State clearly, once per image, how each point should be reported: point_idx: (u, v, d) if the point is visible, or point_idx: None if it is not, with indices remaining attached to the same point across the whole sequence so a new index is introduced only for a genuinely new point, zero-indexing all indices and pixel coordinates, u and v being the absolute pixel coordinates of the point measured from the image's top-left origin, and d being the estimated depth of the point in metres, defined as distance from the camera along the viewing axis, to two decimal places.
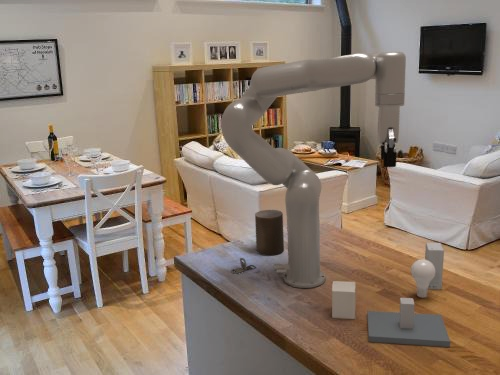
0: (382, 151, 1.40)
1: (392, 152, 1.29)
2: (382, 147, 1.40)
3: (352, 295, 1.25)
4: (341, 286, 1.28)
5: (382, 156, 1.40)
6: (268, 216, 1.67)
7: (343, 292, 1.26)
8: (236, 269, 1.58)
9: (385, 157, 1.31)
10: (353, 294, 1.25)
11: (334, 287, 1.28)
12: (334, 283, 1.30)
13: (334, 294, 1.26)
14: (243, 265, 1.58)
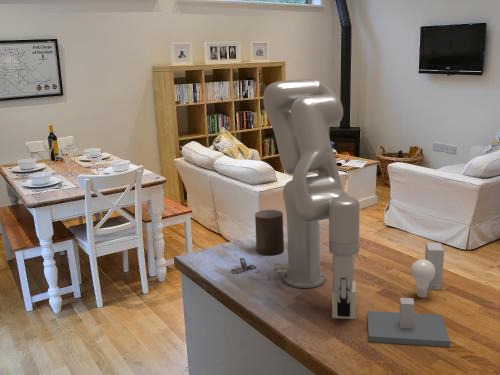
0: None
1: (345, 303, 1.25)
2: None
3: (352, 295, 1.25)
4: None
5: None
6: (268, 216, 1.67)
7: None
8: (236, 269, 1.58)
9: (339, 306, 1.26)
10: (353, 294, 1.25)
11: None
12: None
13: (334, 294, 1.26)
14: (243, 265, 1.58)
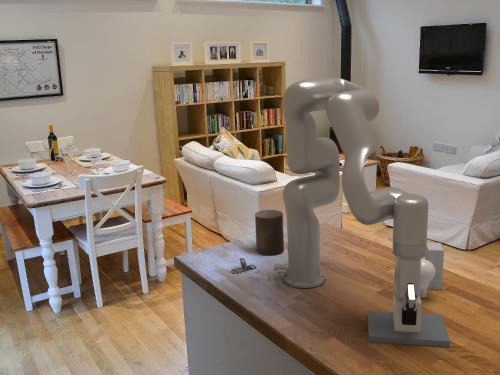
0: None
1: (412, 311, 1.13)
2: None
3: (418, 307, 1.15)
4: None
5: None
6: (268, 216, 1.67)
7: None
8: (236, 269, 1.58)
9: (404, 314, 1.14)
10: (419, 306, 1.15)
11: (397, 298, 1.18)
12: None
13: (398, 305, 1.16)
14: (243, 265, 1.58)
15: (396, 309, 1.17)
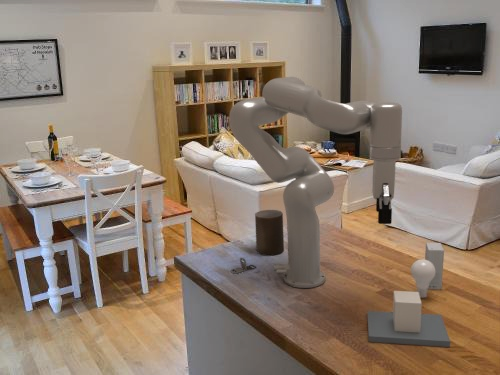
0: (377, 203, 1.33)
1: (387, 209, 1.22)
2: (377, 199, 1.32)
3: (418, 307, 1.15)
4: (404, 297, 1.18)
5: (377, 208, 1.33)
6: (268, 216, 1.67)
7: (408, 303, 1.16)
8: (236, 269, 1.58)
9: (380, 213, 1.23)
10: (419, 306, 1.15)
11: (397, 298, 1.18)
12: (396, 293, 1.20)
13: (398, 305, 1.16)
14: (243, 265, 1.58)
15: (396, 309, 1.17)
